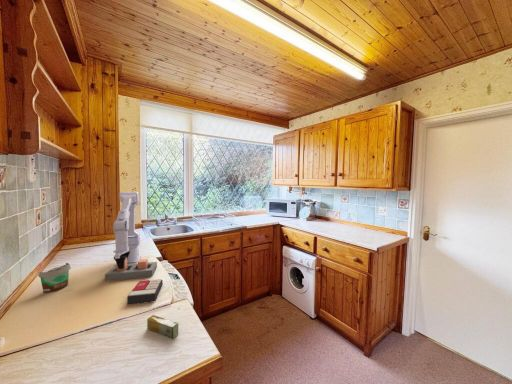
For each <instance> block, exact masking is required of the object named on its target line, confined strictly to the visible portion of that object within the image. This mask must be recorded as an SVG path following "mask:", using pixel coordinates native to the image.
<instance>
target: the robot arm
mask: <svg viewBox="0 0 512 384" xmlns="http://www.w3.org/2000/svg"><path fill="white" fill-rule="evenodd" d="M118 196H119V201H120V203H121V209H120V210H119V211H118V212H117V216H116V220H115V221H114V222H113V225H112V226H113V228H112V230H113V234H114V238H115V250H113V251H112V252H113V253H114V256H113V260H114V261H115V262H116V263H117V265H118V268H119V269H123V268H124V262H125V258H126V257H127V264H134V263H138V261H139V260H140V258H141V257H142V256H140V248H139V246H140V245H141V235H140V233H139V232H137V231H136V206H139V204H140V194H139V192H138V191H120V192H119V195H118ZM116 263H115V264H116Z"/></svg>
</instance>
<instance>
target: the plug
mask: <svg viewBox="0 0 512 384" xmlns="http://www.w3.org/2000/svg"><path fill="white" fill-rule="evenodd" d="M127 264H128V263H127V257H126V258H125V262H124V268H123V269H119V268H118V265H117V263H115V265H116V268H117V271H124V270H126V269H127V268H128V265H127Z"/></svg>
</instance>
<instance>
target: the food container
mask: <svg viewBox="0 0 512 384" xmlns="http://www.w3.org/2000/svg"><path fill="white" fill-rule="evenodd" d="M71 269H72V267H71V265H70V263H68V262H65V264H64V265H61V266H58V267H54V268H52V269H49V270H48V271H43V272H42V271H40V272H39V274H38V278H40V282H41V289H42V292H43V293H45V294H47V293H48V294H49V293H53V292H57V291H60V290H63V289H65V288H67V286H69V276H70V273H69V272H70V270H71Z"/></svg>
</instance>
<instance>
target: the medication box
mask: <svg viewBox="0 0 512 384" xmlns="http://www.w3.org/2000/svg"><path fill="white" fill-rule="evenodd" d="M146 320H147V321H146V322H147V323H146V329H147V330H148V331H151V332H153V333H156V334H158V335H161V336H164V337H167V338H169V339H172V340H174V339H175V338H177V336H178V335H179V323H178V322H176V321H172V320H169V319H167V318H164V317H160V316H158V315H155V314H152V315H150V316H149V317H148V318H147V319H146Z"/></svg>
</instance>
